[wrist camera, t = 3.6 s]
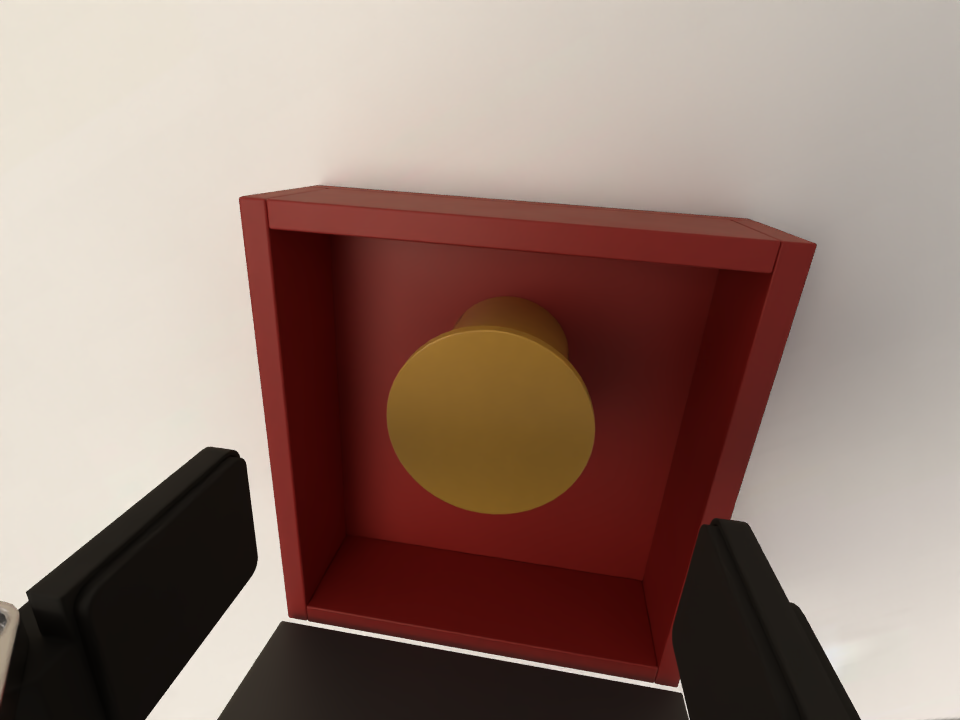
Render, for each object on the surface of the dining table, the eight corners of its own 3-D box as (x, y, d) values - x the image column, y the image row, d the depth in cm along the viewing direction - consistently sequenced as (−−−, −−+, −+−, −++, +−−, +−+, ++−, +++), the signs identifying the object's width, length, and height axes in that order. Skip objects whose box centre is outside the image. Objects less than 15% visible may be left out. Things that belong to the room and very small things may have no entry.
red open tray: (316, 184, 18) (237, 196, 14) (749, 218, 16) (818, 244, 12) (337, 532, 24) (287, 618, 20) (655, 582, 22) (677, 688, 18)
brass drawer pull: (575, 266, 17) (580, 314, 12) (595, 414, 19) (606, 508, 14) (416, 292, 18) (361, 346, 13) (450, 429, 20) (413, 521, 15)
